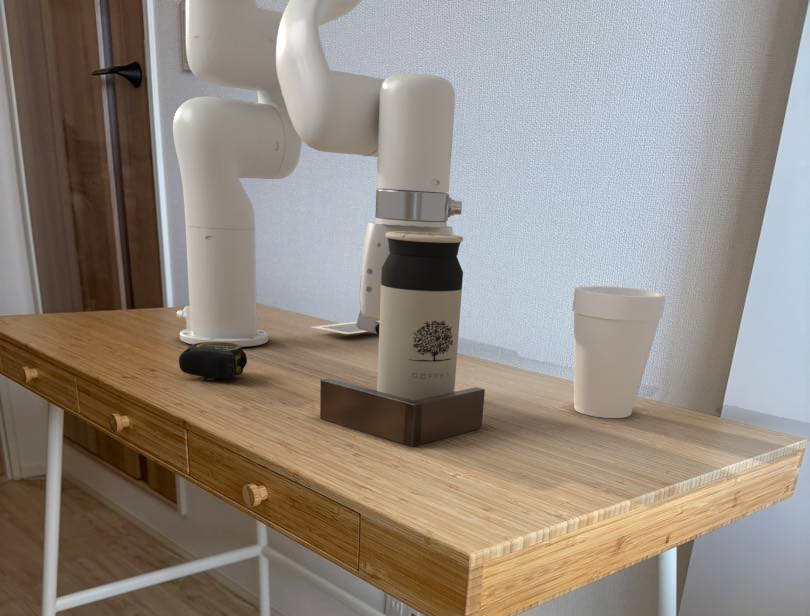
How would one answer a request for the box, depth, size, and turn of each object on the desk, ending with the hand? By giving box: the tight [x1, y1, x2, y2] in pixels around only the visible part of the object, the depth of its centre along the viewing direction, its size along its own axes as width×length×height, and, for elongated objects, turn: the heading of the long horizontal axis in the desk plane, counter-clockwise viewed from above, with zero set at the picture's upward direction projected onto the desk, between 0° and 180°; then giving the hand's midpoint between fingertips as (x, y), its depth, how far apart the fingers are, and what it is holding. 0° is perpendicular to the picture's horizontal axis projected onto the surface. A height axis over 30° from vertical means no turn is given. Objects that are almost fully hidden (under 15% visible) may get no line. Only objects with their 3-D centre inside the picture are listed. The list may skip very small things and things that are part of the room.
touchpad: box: [311, 321, 380, 335], centre depth 134 cm, size 8×15×2 cm, turn 140°
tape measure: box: [178, 342, 248, 381], centre depth 99 cm, size 7×7×4 cm
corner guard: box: [319, 377, 486, 448], centre depth 83 cm, size 13×11×4 cm
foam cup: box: [571, 285, 667, 419], centre depth 91 cm, size 10×9×13 cm
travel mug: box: [376, 231, 464, 400], centre depth 83 cm, size 8×8×18 cm
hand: (402, 384), depth 94 cm, fingers closed
